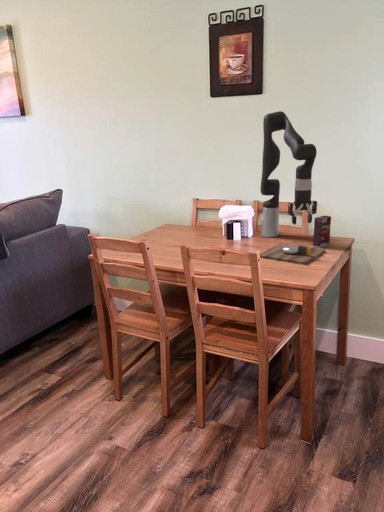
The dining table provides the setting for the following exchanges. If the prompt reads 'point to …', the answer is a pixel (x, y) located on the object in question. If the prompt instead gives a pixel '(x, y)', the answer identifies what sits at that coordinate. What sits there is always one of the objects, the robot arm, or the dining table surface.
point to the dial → (296, 249)
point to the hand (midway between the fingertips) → (301, 223)
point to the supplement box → (322, 231)
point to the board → (291, 255)
